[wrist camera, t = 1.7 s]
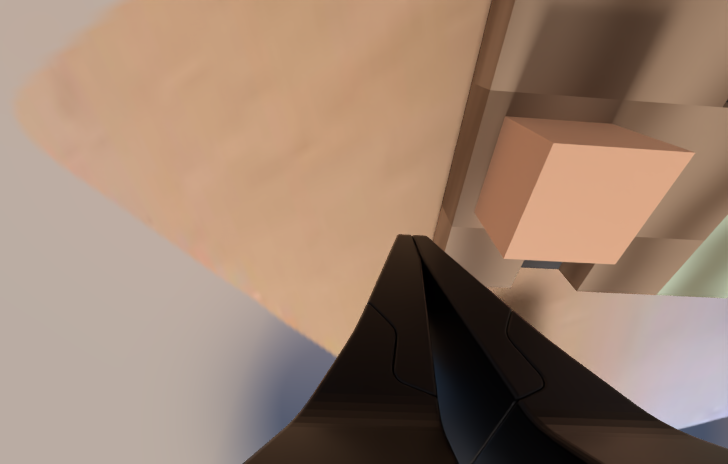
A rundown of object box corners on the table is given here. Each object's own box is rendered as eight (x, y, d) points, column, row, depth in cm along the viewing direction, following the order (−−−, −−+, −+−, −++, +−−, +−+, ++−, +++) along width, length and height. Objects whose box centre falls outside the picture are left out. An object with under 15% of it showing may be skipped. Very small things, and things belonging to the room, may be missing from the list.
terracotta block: (611, 123, 13) (695, 152, 10) (562, 217, 16) (615, 264, 13) (505, 116, 13) (553, 143, 10) (474, 212, 16) (503, 258, 12)
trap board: (945, 2, 13) (1057, -5, 11) (691, 273, 22) (726, 298, 20) (501, -39, 12) (530, -55, 10) (428, 260, 21) (435, 284, 19)
